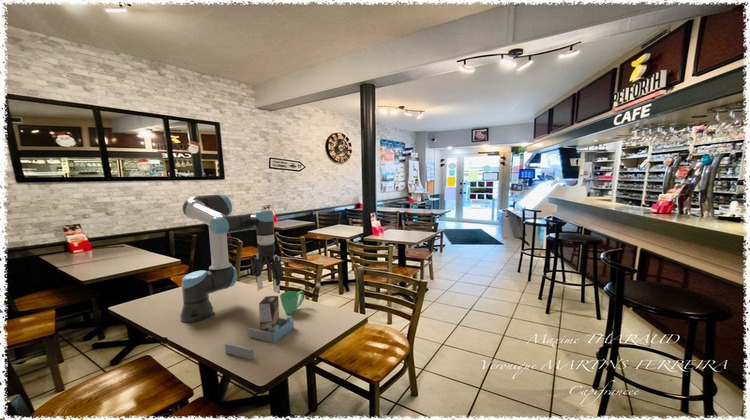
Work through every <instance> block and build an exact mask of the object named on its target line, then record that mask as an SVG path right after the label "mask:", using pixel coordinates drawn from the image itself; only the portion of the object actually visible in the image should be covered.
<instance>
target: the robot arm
mask: <svg viewBox="0 0 750 420" xmlns="http://www.w3.org/2000/svg"><path fill="white" fill-rule="evenodd" d="M232 211H233V205H232V202H231V200H230V198H229V197H228V196H227V195H225V194H207V195H205V194H204V195H194V196H190V197H189V198H187V199H186V200H185V201H184V203H182V212H183V214H184V215H185V217H187V218H189V219H191V220H198V221H199V222H202V223H204V224H206V225H207V226H208V233H209V246H210V259H211V265H210V266H209V267H208V271H207V270H196V271H192V272H190V273H188V274H186V275H184V276H183V277H182V279H181V288H182V291H181V292H182V302H183V304H182V309H181V313H180V318H179V319H180V321H181V322H184V323H194V322H199V321H203V320H206V319H208V318H210V317H211V316H212V315H213V314H214V307H213V305H212V303H211V301H210V299H209V295H210V294H211V293H215V292H219V291H222V290H227V289H229V288H232V287H233V286H235V285H236V283H237V280H238V272H237V269H236V268H235V266H233V264H232V263H231V262H230V260H229V248H228V235H227V234H230V233H236V232H244V231H248V230H250V231H252V230H255V231H256V241H257V253H255V254H253V256H252V259H253V262H252V270H251V271H252V272H251V274H252V276H255V282H256V285H257V286H256V287H257V291H261V290H263V288H264V286H263V285H264V284H263V275H262V271H264V266H265V264H266V265H268V266H269V268H270V270H271V273H272V274H273V276H274V278H273V290H274V291H273V292H274V294H276V293H278V292H280V291H281V290H280V285H281V278H283V277H284V276H285V275H284V274H285V273H284V271H283V266H282V261H281V256H280V255H276V254H275V251H276V244H275V240H276V239H275V218H274V212H273V210H271V209H260V210H256V211H255V213H254V212H253V213H252V212H250V213H249V212H248V213H244V214H234V215H231V214H232Z"/></svg>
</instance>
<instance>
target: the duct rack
mask: <svg viewBox="0 0 750 420" xmlns="http://www.w3.org/2000/svg"><path fill="white" fill-rule="evenodd" d="M292 317H293V316H292V315H288V316H287V317H286V318H285V317H280V316H279V323H280V327H279V325H276V326H274V333H273V332H268V331H263V330H260V329H257V328H254V327H253V328H252V327H249V328H248V338H252V339H257V340H259V341H264V342H270V343H274V344H275V343H276V342H278V341H279V340H280V339H282V338H283V337H284V336H285V335H286V334H288V333H289V332H290V331H292V330H293V329H294V328H295V326H294V325H295V324H294V323H295V321H294V319H292ZM224 348H225V349H224V351H225V354H228V355H232V356H236V357H240V358H243V359H247V360H253V359H255V358H254V355H255V354H254V348H251V347H247V346H242V345H238V344H233V343H230V342H225V343H224Z"/></svg>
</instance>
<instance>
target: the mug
mask: <svg viewBox="0 0 750 420" xmlns="http://www.w3.org/2000/svg"><path fill="white" fill-rule="evenodd" d="M300 295H301V296H300ZM299 296H300V298H299ZM279 298H280V302H281V306H282V309H283V310H284V313H285V314H286V315H292V314H294V313H295V312H296V310H297V309H298V308H299V307H300V305H302V303H303V302H304V299H305V292H304V291H303V290H300V291H289V290H288V291H285V292H282V293H281V294H279Z"/></svg>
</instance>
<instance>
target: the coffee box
mask: <svg viewBox="0 0 750 420" xmlns="http://www.w3.org/2000/svg"><path fill="white" fill-rule="evenodd" d="M279 301H280V300H279V295H270V296H269V295H267V296H265V297H264V298H262V299H261V301H260V302H259V303H258V311H259V330H263V331H268V332H273V333H274V326H276V325H279V328H281V326H280V323H279V317H280V302H279Z"/></svg>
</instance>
